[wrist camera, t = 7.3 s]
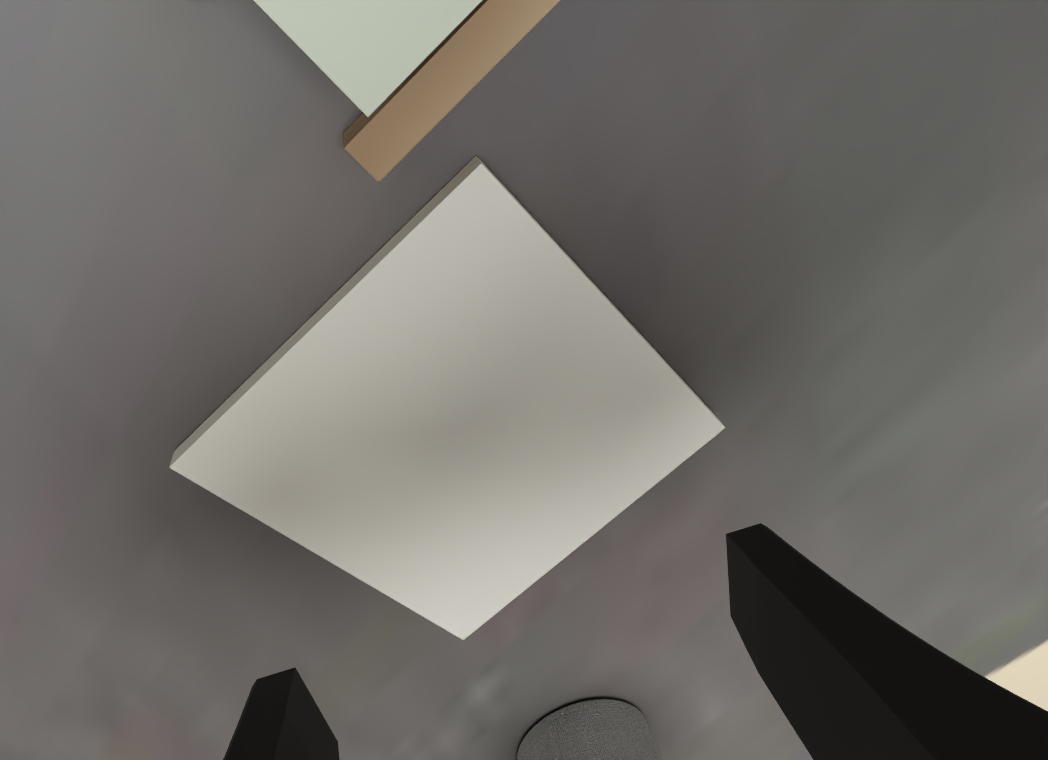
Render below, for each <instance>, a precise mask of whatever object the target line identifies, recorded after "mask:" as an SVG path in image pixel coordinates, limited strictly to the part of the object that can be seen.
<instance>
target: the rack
mask: <svg viewBox="0 0 1048 760" xmlns="http://www.w3.org/2000/svg"><path fill="white" fill-rule="evenodd" d="M559 1H560V0H482V1H481V2H480V3H479V4H478V5H477V6H476V7H475V8H474V9H473V10H472V11H471V12H470V13H469V15H468V16H467V17H466V18H465V19H464V20H463V21H462V22H461V23H460V24H459V25H458V26H457V27H456V28H455V29H454V30H453V31H452V32H451V33H450V34H449V35H448V36H447V37H446V38H445V39H444V40H443V41H442V42H441V43H440V44H439V45H438V46H437V47H436V48H435V49H434V50H433V51H432V52H431V53H430V54H429V55H428V56H427V57H426V58H425V59H424V60H423V61H422V63H421V64H420V65H419V66H418V67H417V68H416V69H415V70H414V71H413V72H412V73H411V74H410V75H409V76H408V77H407V78H406V79H405V80H404V81H403V82H402V83H401V84H400V85H399V86H398V87H397V88H396V89H395V90H394V91H393V92H392V93H391V94H390V95H389V96H388V97H387V98H386V99H385V100H384V101H383V102H382V103H381V104H380V105H379V106H378V107H377V108H376V109H375V111H374V112H373V113H372V114H371V115H370V116H369V117H367V116H366V115H365V114H364V113H362V114H361V115H360V116H359V117H358V119H357V120H356V121H355V122H354V123H353V124H352V125H351V126H350V127H349V128H348V129H347V130H346V131H345V132H344V133H343V143H344V149H345V150H346V151H347V152H348V153H349V154H350V155H351V156H352V157H353V158H354V159H355V160H356V161H357V162H358V163H359V164H360V165H361V166H362V167H364V168H365V169H366V170H367V171H368V172H369V173H370V174H371V175H372V176H373V177H374V178H375V179H376V180H377V181H378V182H380V181H381V180H382V179H383V178H384V177H385V176H386V175H387V174H388V173H389V172H390V171H391V170H392V169H393V168H394V167H395V166H396V165H397V164H398V163H399V162H400V161H401V160H402V159H403V158H404V157H405V156H406V155H407V153H408V152H409V151H410V150H411V149H412V148H413V147H414V146H415V145H416V144H417V143H418V142H419V141H420V140H421V139H422V138H423V137H424V136H425V135H426V134H427V133H428V132H429V131H430V130H431V129H432V128H433V127H434V126H435V125H436V124H437V123H438V122H439V121H440V120H441V119H442V118H443V117H444V116H445V115H446V114H447V113H448V112H449V111H450V110H451V109H452V108H453V107H454V106H455V105H456V104H457V103H458V102H459V101H460V100H461V99H462V98H463V97H464V96H465V95H466V94H467V93H468V92H469V91H470V90H471V89H472V88H473V87H474V86H475V85H476V84H477V83H478V82H479V81H480V80H481V79H482V78H483V77H484V76H485V75H486V74H487V73H488V72H489V71H490V70H491V69H492V68H493V67H494V66H495V65H496V64H497V63H498V62H499V61H500V60H501V59H502V58H503V57H504V56H505V55H506V54H507V53H508V52H509V51H510V50H511V49H512V48H513V47H514V46H515V45H516V44H517V43H518V42H519V41H520V40H521V39H522V38H523V37H524V36H525V35H526V34H527V33H528V32H529V31H530V30H531V29H532V28H533V27H534V26H535V25H536V24H537V23H538V22H539V21H540V20H541V19H542V18H543V17H544V16H545V15H546V14H547V13H548V12H549V11H550V10H551V9H552V8H553V7H554V6H555V5H556V4H557V3H558V2H559Z"/></svg>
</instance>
